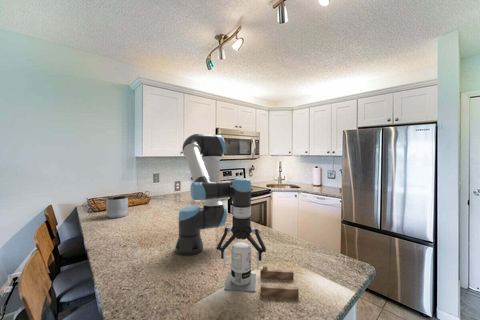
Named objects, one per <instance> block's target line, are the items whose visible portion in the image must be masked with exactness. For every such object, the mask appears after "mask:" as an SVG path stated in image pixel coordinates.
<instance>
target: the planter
mask: <svg viewBox="0 0 480 320" xmlns="http://www.w3.org/2000/svg"><path fill="white" fill-rule="evenodd" d="M105 204H106V208H105V209H106V210H105V211H106V212H105V215H106V217H107V218H108V219H118V218H124V217H126V216H128V214H129V198H128V196H126V195H125V196H124V195H117V196H110V197H107V198H106V203H105Z"/></svg>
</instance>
